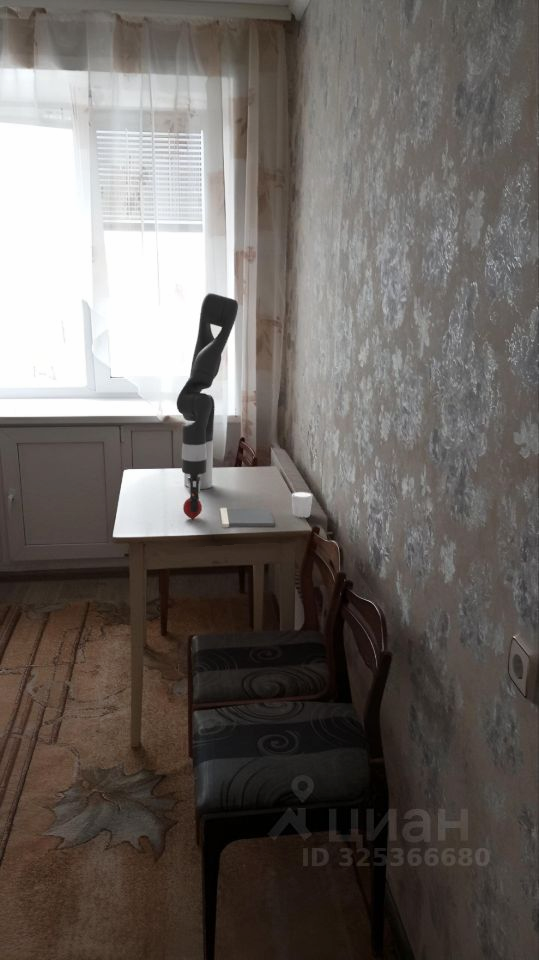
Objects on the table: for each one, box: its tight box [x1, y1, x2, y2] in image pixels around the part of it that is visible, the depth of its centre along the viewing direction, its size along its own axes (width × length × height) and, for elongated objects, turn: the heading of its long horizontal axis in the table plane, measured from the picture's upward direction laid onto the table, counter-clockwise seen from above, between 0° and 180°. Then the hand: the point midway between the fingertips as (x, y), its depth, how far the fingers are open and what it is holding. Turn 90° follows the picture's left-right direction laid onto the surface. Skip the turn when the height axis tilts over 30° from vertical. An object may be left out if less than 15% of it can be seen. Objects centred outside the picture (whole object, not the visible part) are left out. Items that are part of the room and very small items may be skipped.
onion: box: [182, 494, 203, 520], centre depth 234 cm, size 6×6×8 cm
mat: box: [219, 507, 275, 528], centre depth 237 cm, size 16×16×1 cm
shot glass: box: [291, 491, 314, 519], centre depth 242 cm, size 7×7×7 cm
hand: (194, 507), depth 234 cm, fingers open, 8 cm apart
